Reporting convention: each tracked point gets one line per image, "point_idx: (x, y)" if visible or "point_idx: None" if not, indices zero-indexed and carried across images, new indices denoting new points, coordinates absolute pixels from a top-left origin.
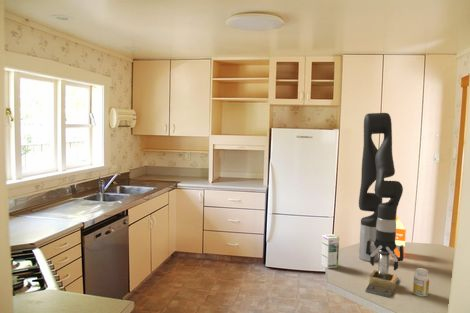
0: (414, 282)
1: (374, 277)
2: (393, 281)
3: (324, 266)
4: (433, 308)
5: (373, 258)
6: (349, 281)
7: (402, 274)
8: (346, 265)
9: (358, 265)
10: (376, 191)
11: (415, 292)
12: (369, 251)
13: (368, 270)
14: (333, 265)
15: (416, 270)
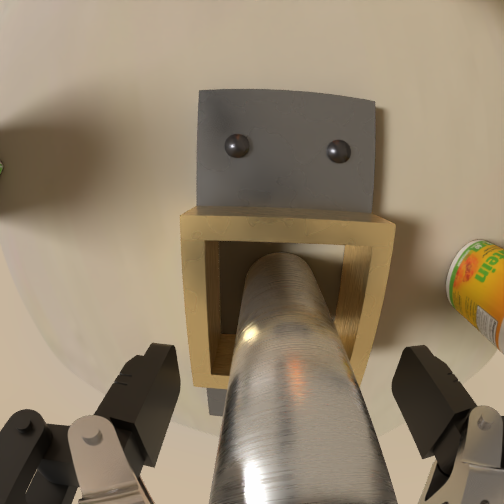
0: (480, 325)
1: (227, 382)
2: (362, 374)
3: None
4: (468, 379)
5: (154, 455)
6: (100, 328)
7: (370, 6)
8: (27, 91)
9: (80, 32)
10: None
11: (454, 307)
12: (51, 470)
13: (140, 57)
14: None
15: None
